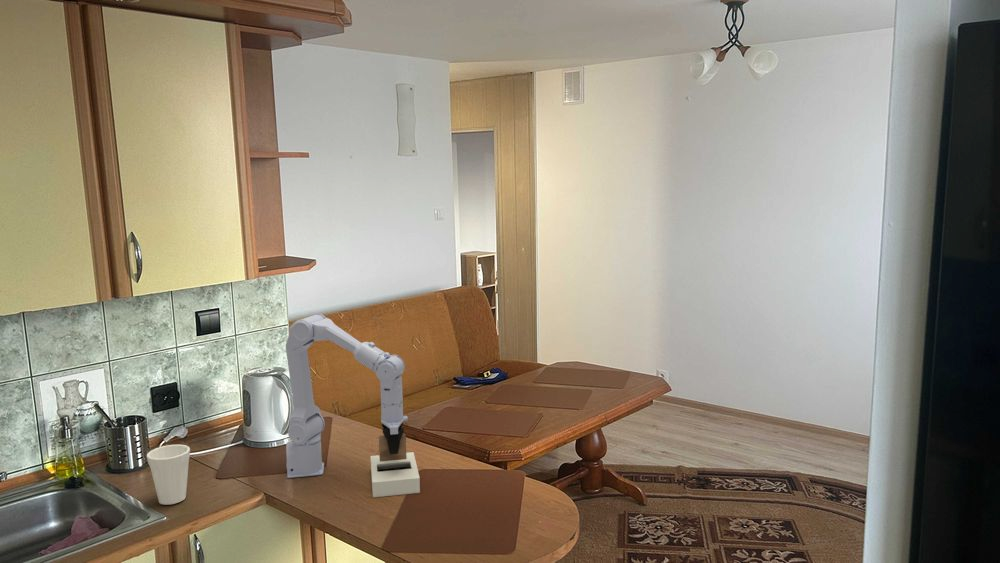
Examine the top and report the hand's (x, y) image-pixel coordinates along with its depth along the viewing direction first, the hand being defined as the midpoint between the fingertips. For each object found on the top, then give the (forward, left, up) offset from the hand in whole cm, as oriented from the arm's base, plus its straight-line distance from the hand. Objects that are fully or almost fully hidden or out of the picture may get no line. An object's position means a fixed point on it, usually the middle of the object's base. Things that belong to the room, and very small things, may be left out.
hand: (393, 451), depth 188 cm
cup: (-56, +1, -8) cm, 57 cm away
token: (0, 0, -2) cm, 2 cm away
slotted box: (0, 0, -8) cm, 8 cm away
